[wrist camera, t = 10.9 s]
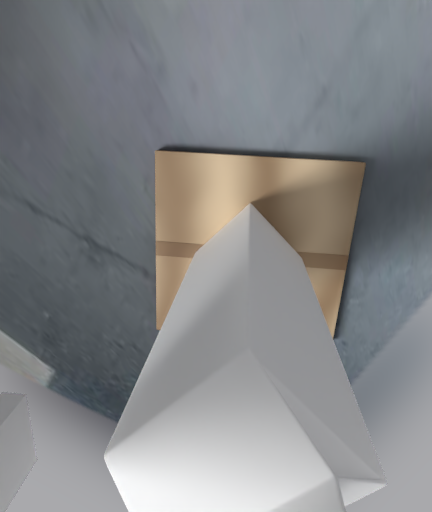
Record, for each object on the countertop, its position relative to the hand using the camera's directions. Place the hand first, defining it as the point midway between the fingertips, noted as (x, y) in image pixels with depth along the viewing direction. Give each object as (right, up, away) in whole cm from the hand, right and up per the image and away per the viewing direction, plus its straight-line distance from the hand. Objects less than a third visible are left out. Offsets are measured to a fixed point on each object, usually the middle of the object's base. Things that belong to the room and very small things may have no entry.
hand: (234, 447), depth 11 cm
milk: (+2, +6, +17) cm, 18 cm away
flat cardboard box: (+2, +6, +18) cm, 19 cm away
